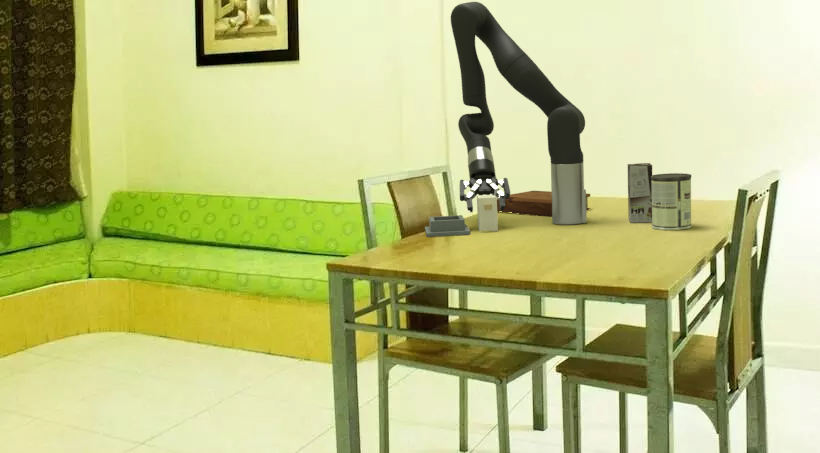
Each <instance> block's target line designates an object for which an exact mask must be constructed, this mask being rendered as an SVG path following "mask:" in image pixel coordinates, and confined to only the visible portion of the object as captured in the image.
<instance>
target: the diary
mask: <svg viewBox="0 0 820 453" xmlns="http://www.w3.org/2000/svg"><path fill="white" fill-rule="evenodd" d="M589 197H591V193H586V211H590V210H589V209H591V207H588V198H589ZM497 211H500V205H499V199H498V198H497ZM502 212H512V213H519V214H518V215H524V214H529V215H528V216H536V215H538V216H537V217H548V218H549V217H550V218H552V191H550V190H549V191H546V190H545V191H544V190H529V191H523V192H522V191H521V192H518V193H517V192H516V193H510V198H509V199H505V209H503V211H502Z"/></svg>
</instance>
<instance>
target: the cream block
mask: <svg viewBox="0 0 820 453" xmlns="http://www.w3.org/2000/svg"><path fill="white" fill-rule="evenodd" d="M476 205H477V206H476V207H477V230H478V229H479V230H478V231H479V232H480V231H492V232H499V226H498V225H499V224H498V212H497V197H496V196H495V195H492V194H491V195H478V196H477V195H476Z"/></svg>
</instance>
